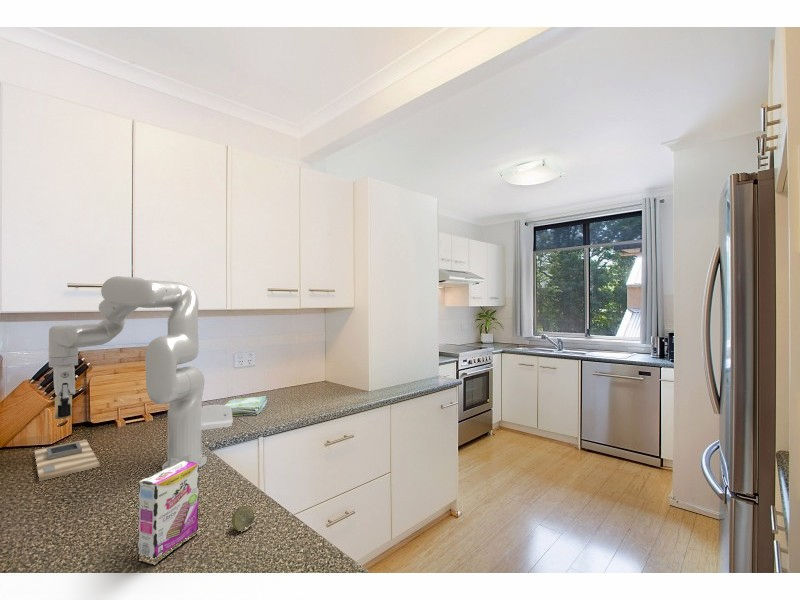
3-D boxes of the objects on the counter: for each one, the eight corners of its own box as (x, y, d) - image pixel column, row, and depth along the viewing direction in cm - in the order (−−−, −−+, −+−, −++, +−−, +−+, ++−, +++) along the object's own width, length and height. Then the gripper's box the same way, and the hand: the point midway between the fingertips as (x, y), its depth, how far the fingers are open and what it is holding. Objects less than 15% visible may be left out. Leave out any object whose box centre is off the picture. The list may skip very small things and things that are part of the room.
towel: (217, 418, 174) (217, 407, 174) (231, 406, 195) (230, 396, 195) (259, 416, 177) (259, 405, 177) (268, 404, 198) (268, 394, 198)
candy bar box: (156, 567, 76) (155, 484, 76) (136, 562, 78) (136, 481, 78) (200, 534, 87) (199, 461, 87) (182, 530, 88) (182, 459, 88)
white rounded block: (188, 431, 156) (189, 406, 159) (189, 432, 160) (191, 407, 163) (232, 426, 162) (233, 402, 165) (233, 427, 166) (233, 403, 169)
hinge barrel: (67, 418, 129) (67, 397, 129) (51, 419, 128) (51, 398, 128) (74, 414, 134) (74, 394, 134) (59, 415, 132) (59, 395, 132)
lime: (255, 523, 91) (255, 502, 91) (248, 535, 86) (248, 513, 86) (236, 523, 91) (236, 502, 91) (228, 536, 86) (228, 513, 86)
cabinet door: (99, 467, 123) (99, 458, 123) (39, 482, 113) (39, 472, 113) (86, 443, 144) (86, 435, 144) (34, 454, 134) (34, 445, 134)
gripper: (81, 363, 128) (80, 417, 128) (75, 357, 139) (74, 407, 139) (50, 365, 122) (50, 423, 122) (47, 359, 134) (46, 412, 134)
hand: (63, 414), depth 131 cm, fingers closed on hinge barrel, 4 cm apart
